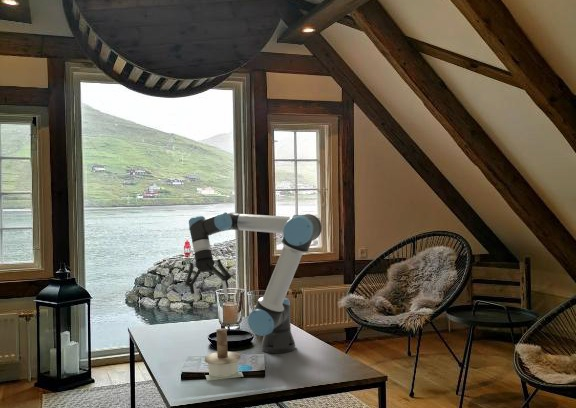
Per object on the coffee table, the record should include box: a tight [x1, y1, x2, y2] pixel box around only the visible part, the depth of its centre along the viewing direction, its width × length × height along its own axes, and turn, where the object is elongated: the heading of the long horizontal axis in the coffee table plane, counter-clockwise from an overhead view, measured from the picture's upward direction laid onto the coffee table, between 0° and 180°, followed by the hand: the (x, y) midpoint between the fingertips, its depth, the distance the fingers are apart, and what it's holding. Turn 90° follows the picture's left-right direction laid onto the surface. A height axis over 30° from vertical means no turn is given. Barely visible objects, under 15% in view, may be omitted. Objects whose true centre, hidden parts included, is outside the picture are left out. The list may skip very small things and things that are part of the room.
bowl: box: [207, 360, 239, 378], centre depth 224 cm, size 11×11×6 cm
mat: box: [205, 371, 244, 381], centre depth 224 cm, size 14×14×1 cm
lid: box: [204, 328, 242, 365], centre depth 224 cm, size 14×14×12 cm
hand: (211, 298), depth 245 cm, fingers open, 13 cm apart
